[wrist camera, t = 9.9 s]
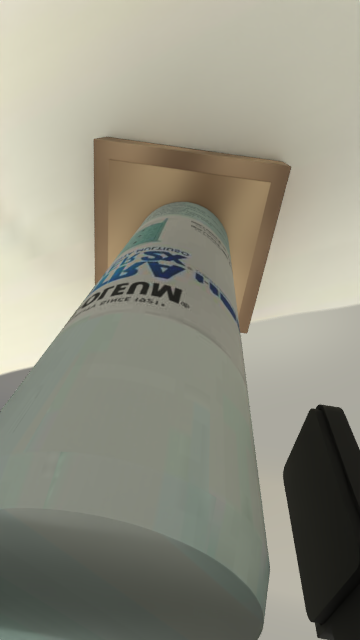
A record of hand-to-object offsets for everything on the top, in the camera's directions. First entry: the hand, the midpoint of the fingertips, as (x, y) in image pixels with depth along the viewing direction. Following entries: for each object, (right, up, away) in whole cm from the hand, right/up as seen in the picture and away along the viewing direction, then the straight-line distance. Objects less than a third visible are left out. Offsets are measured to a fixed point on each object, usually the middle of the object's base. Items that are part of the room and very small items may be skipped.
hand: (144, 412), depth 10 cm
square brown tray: (+1, +9, +16) cm, 19 cm away
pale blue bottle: (+1, +8, +13) cm, 16 cm away
